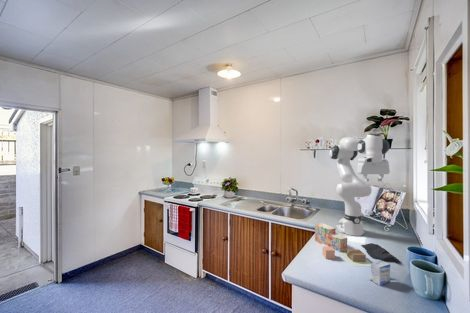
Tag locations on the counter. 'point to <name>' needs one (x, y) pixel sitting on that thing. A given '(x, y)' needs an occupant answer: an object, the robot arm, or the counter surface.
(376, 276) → the medicine box
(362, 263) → the build plate
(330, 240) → the stack of blocks
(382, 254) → the dark slate chunk
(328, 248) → the top brick
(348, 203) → the robot arm
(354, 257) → the base brick
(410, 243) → the counter surface
